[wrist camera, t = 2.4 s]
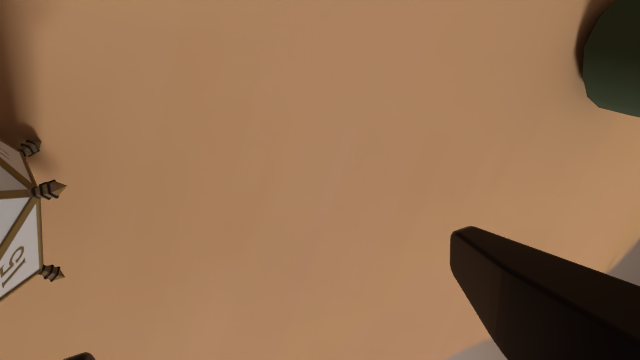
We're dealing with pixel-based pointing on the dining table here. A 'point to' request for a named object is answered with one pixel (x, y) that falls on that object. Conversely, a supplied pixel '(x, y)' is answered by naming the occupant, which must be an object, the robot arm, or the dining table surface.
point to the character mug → (615, 59)
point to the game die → (22, 219)
